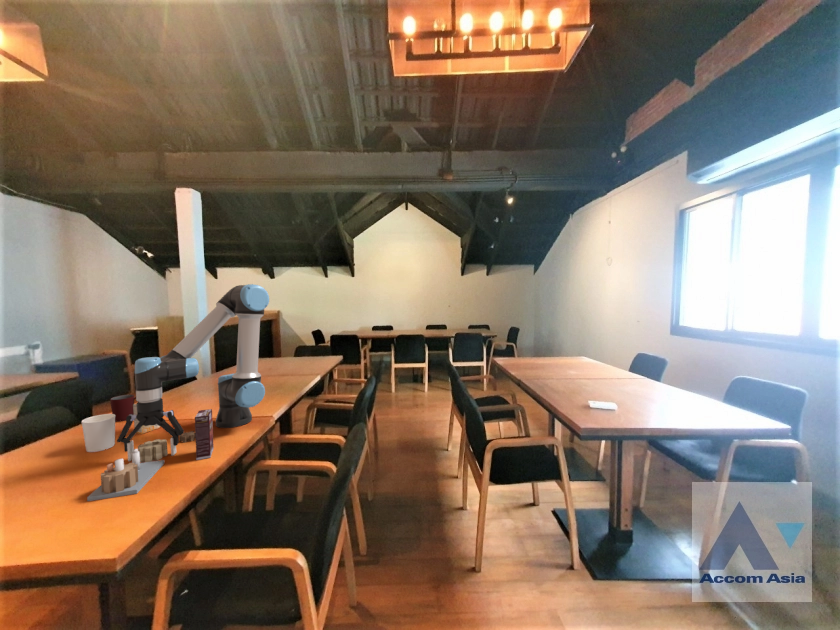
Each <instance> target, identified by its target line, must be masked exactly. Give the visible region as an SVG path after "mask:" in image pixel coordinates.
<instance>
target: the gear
mask: <svg viewBox="0 0 840 630" xmlns="http://www.w3.org/2000/svg"><path fill="white" fill-rule="evenodd" d="M178 437H179V442H180V443H182V444H183V443H187V442H193V441H195V440H196V435H195V430H191V431H187V432H186V431H184V433H183V434H182V435H179V436H178Z"/></svg>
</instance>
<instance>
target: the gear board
mask: <svg viewBox="0 0 840 630" xmlns="http://www.w3.org/2000/svg"><path fill="white" fill-rule="evenodd" d="M124 461H125V460H124V458H118V459H116V460H114V463H108V464H106V469H105V470H104V472H101V473H100V484H101V485H99V486H98V487H97V488H96V489H95V490H93V491H92V492H91V493H90V494H89V495H88V496H87V497H86V501H87V502H91V501H97V500H98V501H99V500H105V499H111V498H116V497H117V498H119V497H124V496H129V495H137V494H138V493H139V492H140V491H141V490H142V489H143V488H144V486H146V484H147V483H149V481H150V480H151V479H152V477H154V475H155V474H156V473H157V472H158V471H159V470H160V469H161V468H162V467H163V466H164V464H165V459H159V460H153V461H152V462H145V461H144V462H140V453H139V451H138V448H134V450H133V453H132V460H131V462H129V463H126V464H125V462H124Z"/></svg>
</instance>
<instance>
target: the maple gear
mask: <svg viewBox="0 0 840 630" xmlns="http://www.w3.org/2000/svg"><path fill="white" fill-rule="evenodd" d="M137 449H138V451H139V453H140V463H145V462H152V461H160V460H163V457H167V456H168V455H169V454H168V452H169V451H168V441H167V439H165V438H164V439H163V438H162V439H161V438H157V439H154V440H152V441H151V440H148V441H145V442H143V443H142V444H138V446H137Z"/></svg>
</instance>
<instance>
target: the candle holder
mask: <svg viewBox="0 0 840 630" xmlns="http://www.w3.org/2000/svg"><path fill="white" fill-rule="evenodd" d="M81 426H82V433H83V440H84V445H85V451H86V453H87V452H88V453H96V452H101V451H106V450H108V449H110V448H113V447H114V446H115V444H116V422H115V414H112V413H103V414H98V415H97V414H96V415H93V416H90V417H86V418H84V419H82V420H81ZM105 449H106V450H105Z"/></svg>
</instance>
